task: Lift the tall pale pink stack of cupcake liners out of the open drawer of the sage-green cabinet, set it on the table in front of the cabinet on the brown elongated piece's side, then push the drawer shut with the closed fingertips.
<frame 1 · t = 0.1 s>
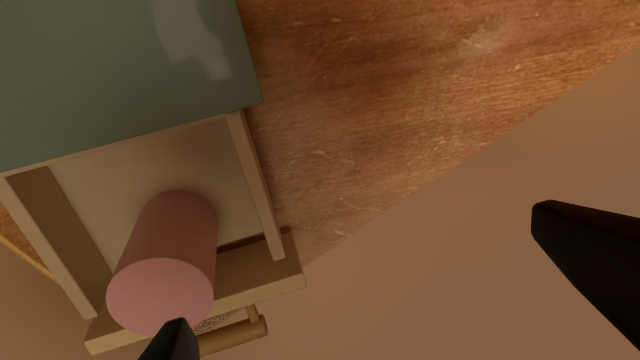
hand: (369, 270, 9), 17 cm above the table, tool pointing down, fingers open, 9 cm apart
liners: (179, 223, 24), point 2 cm above the table, touching drawer
drawer: (183, 248, 23), point 3 cm above the table, slide at 11.0 cm, touching liners
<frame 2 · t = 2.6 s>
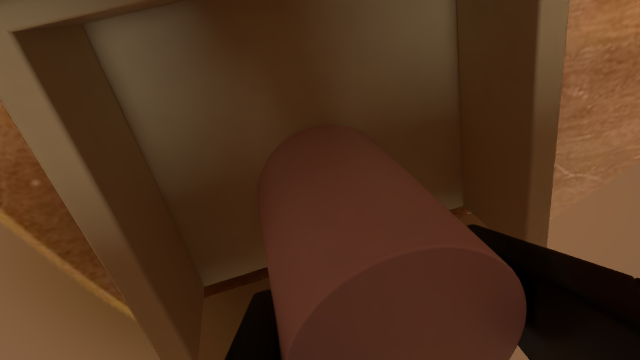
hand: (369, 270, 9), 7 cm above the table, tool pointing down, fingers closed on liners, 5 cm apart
liners: (326, 190, 13), point 2 cm above the table, touching drawer, gripper
drawer: (341, 235, 12), point 3 cm above the table, slide at 11.0 cm, touching liners
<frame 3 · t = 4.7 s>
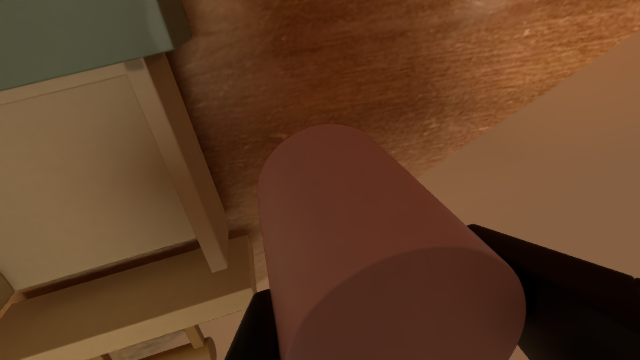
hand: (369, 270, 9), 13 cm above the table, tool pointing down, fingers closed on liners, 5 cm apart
liners: (325, 189, 13), point 9 cm above the table, touching gripper
drawer: (98, 255, 18), point 3 cm above the table, slide at 11.0 cm
when the fingers open (4 cm above the table, at t = 7.3 s): liners stays where it is, on the table.
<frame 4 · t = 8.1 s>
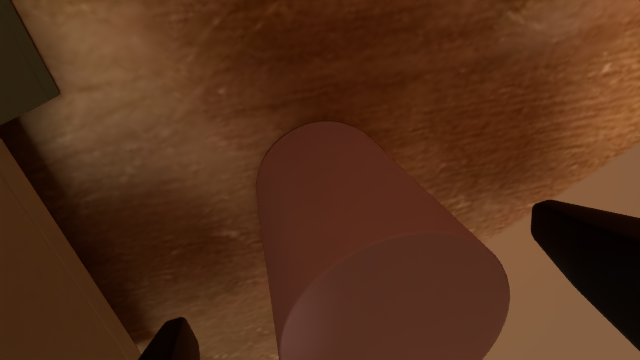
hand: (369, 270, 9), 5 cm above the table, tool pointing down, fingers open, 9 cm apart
liners: (322, 185, 13), on the table
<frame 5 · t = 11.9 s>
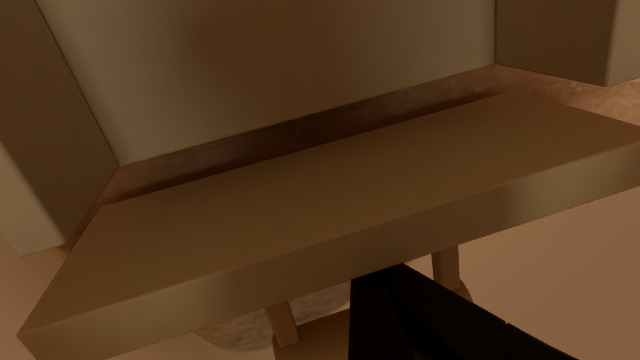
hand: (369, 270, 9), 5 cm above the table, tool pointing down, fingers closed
drawer: (317, 68, 8), point 3 cm above the table, slide at 10.2 cm
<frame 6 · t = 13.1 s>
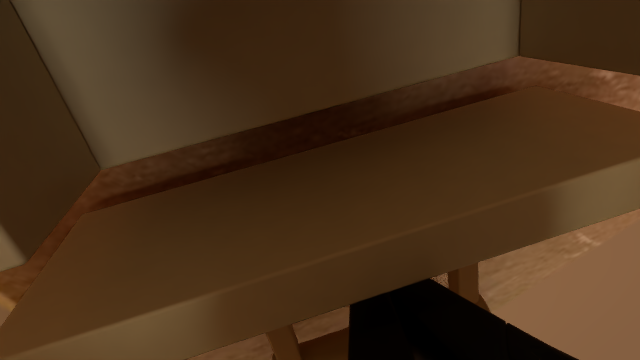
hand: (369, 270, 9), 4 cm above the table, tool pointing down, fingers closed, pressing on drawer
drawer: (322, 58, 7), point 3 cm above the table, slide at 5.3 cm, touching gripper
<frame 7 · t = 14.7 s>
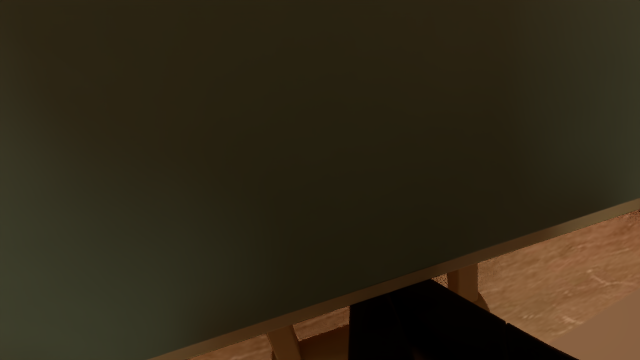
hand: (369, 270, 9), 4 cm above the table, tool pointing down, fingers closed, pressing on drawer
drawer: (323, 57, 7), point 3 cm above the table, slide at 0.0 cm, touching cabinet, gripper
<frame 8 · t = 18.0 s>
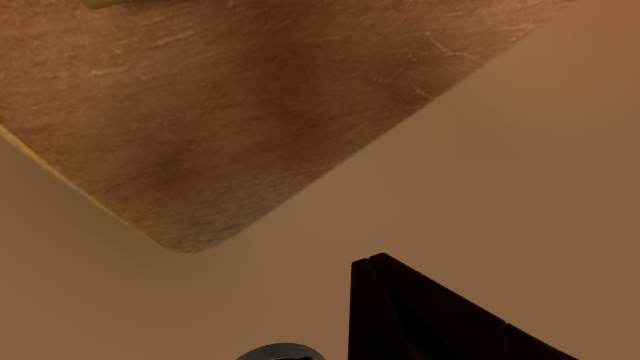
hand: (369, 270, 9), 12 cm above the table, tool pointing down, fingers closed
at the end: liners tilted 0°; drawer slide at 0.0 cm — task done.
